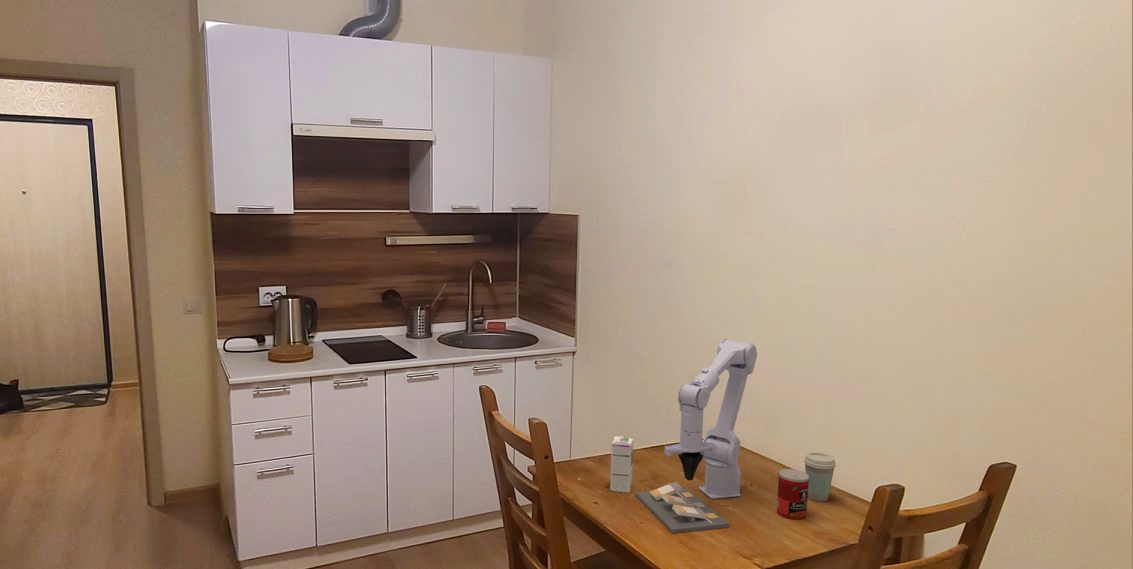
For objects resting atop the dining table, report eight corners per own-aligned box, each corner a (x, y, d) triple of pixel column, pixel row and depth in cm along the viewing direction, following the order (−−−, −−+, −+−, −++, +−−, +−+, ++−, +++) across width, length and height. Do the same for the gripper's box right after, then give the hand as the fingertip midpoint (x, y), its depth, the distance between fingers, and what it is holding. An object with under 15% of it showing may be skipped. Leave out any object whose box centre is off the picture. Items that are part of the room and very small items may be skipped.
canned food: (791, 521, 190) (794, 481, 188) (769, 510, 197) (772, 471, 195) (812, 517, 193) (815, 477, 192) (790, 505, 200) (793, 467, 199)
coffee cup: (837, 497, 207) (841, 457, 206) (825, 506, 201) (828, 464, 199) (809, 489, 213) (812, 449, 211) (796, 497, 206) (799, 456, 205)
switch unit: (687, 491, 208) (687, 484, 207) (729, 527, 185) (729, 519, 185) (635, 495, 203) (635, 488, 203) (672, 533, 180) (672, 525, 180)
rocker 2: (686, 502, 197) (687, 498, 197) (693, 508, 193) (694, 504, 193) (661, 497, 194) (662, 492, 194) (667, 503, 190) (668, 498, 190)
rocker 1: (676, 484, 203) (675, 481, 203) (682, 490, 199) (681, 486, 199) (650, 495, 201) (649, 491, 201) (656, 500, 197) (655, 496, 197)
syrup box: (629, 493, 205) (632, 443, 203) (609, 490, 206) (611, 441, 204) (632, 485, 210) (634, 437, 209) (612, 483, 211) (614, 435, 210)
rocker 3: (698, 512, 190) (699, 508, 190) (706, 518, 186) (707, 514, 186) (672, 508, 187) (673, 504, 187) (678, 514, 184) (680, 510, 184)
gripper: (707, 423, 198) (704, 471, 200) (660, 427, 193) (657, 476, 195) (721, 431, 192) (718, 480, 193) (672, 435, 187) (670, 486, 188)
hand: (688, 479), depth 194 cm, fingers closed
